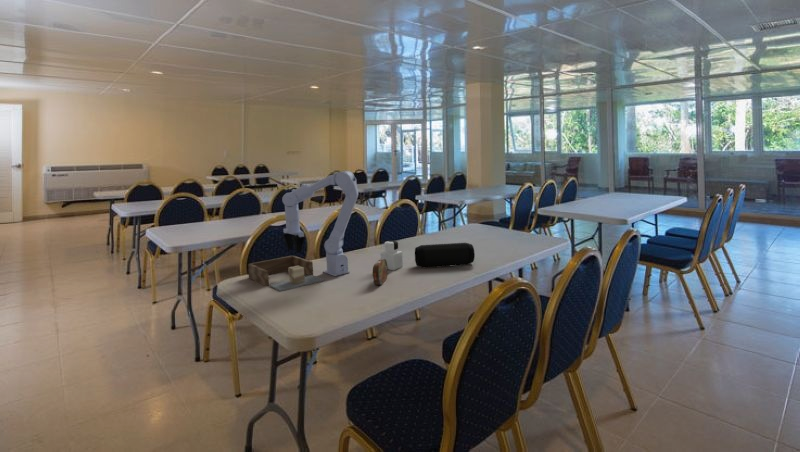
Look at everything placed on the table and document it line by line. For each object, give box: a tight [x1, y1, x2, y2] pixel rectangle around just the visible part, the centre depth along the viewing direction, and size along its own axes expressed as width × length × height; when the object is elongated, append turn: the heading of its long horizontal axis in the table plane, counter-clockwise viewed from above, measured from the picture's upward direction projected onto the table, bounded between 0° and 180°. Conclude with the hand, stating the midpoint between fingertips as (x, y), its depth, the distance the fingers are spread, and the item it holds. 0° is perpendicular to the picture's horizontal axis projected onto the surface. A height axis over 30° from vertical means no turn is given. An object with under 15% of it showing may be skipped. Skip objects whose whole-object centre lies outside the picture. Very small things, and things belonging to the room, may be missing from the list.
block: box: [287, 266, 306, 285], centre depth 173 cm, size 4×4×6 cm
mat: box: [269, 274, 325, 292], centre depth 174 cm, size 9×19×1 cm, turn 132°
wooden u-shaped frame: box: [247, 255, 314, 287], centre depth 184 cm, size 17×21×6 cm
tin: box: [372, 258, 389, 286], centre depth 173 cm, size 15×3×8 cm, turn 168°
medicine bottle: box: [380, 240, 404, 271], centre depth 193 cm, size 7×7×12 cm
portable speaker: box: [414, 242, 476, 268], centre depth 195 cm, size 26×10×10 cm, turn 98°
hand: (294, 251), depth 189 cm, fingers open, 7 cm apart
